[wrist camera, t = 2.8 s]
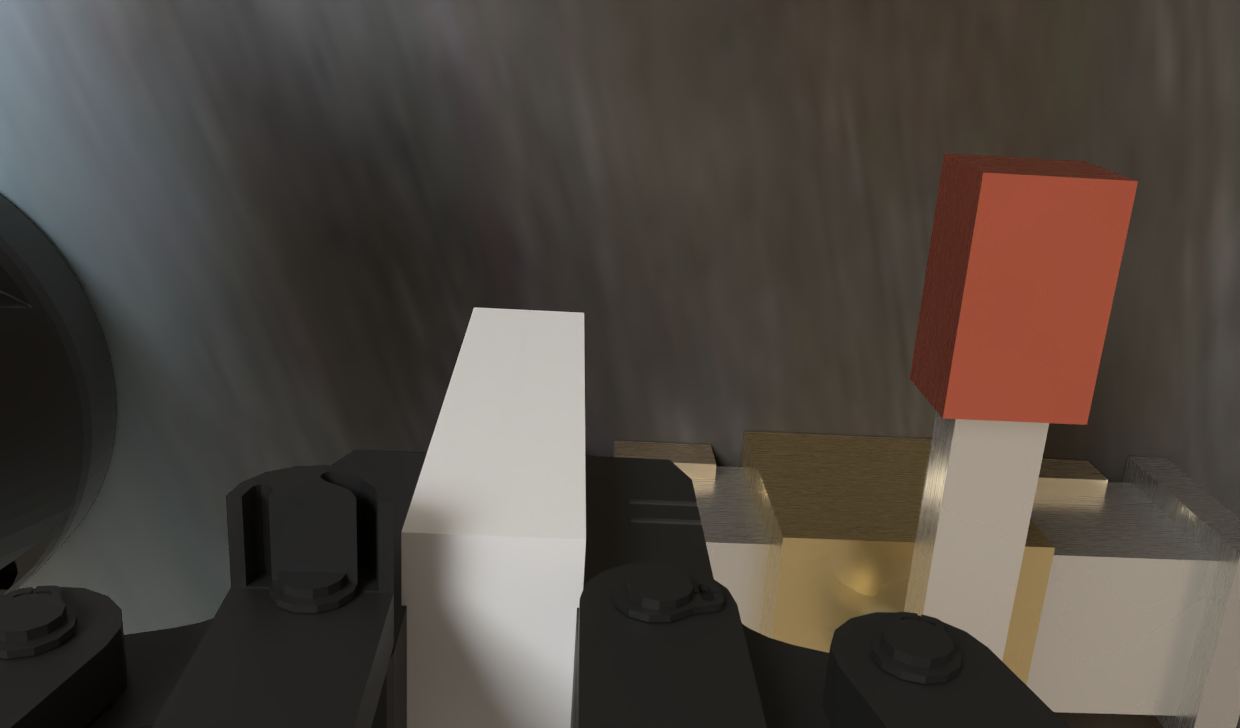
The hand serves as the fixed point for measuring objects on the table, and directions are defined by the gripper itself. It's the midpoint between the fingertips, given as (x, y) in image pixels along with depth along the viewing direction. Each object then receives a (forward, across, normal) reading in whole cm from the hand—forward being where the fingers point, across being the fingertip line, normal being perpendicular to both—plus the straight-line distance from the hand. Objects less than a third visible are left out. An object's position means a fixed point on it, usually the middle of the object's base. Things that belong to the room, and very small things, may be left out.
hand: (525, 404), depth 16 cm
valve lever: (+9, +10, -5) cm, 14 cm away
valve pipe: (+18, +10, -11) cm, 23 cm away
